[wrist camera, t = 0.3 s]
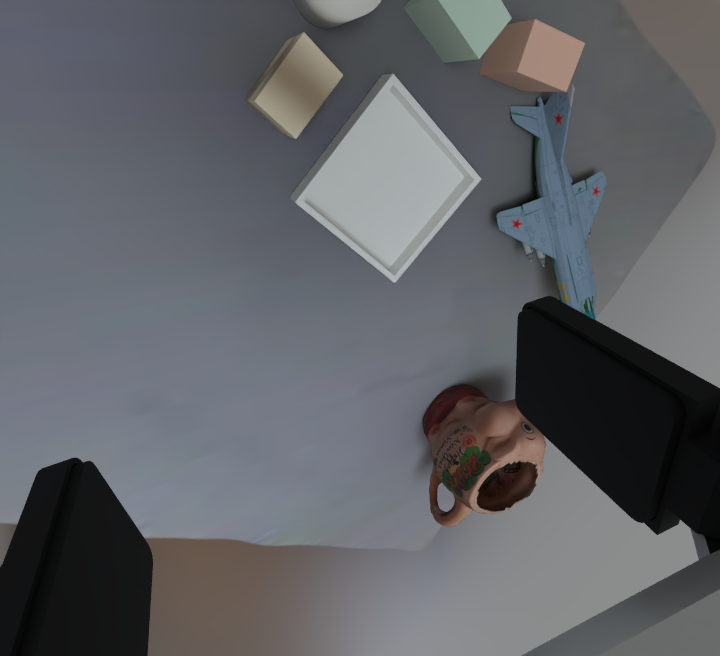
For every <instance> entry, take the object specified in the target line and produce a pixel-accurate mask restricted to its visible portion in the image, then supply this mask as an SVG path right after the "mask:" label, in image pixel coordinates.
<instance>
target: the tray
mask: <svg viewBox="0 0 720 656" xmlns="http://www.w3.org/2000/svg"><path fill="white" fill-rule="evenodd" d="M480 180H481V178H480V177H479V175H478V174H477V173H476V172H475V171H474V169H473V168H472V167H471V166H470V165H469V163H468V162H467V161H466V160H465V159H464V158H463V156H462V155H461V154H460V153H459V152H458V150H457V149H456V148H455V147H454V146H453V144H452V143H451V142H450V141H449V140H448V138H447V137H446V136H445V135H444V134H443V132H442V131H441V130H440V129H439V128H438V126H437V125H436V124H435V123H434V122H433V120H432V119H431V118H430V117H429V116H428V114H427V113H426V112H425V111H424V110H423V108H422V107H421V106H420V105H419V104H418V103H417V101H416V100H415V99H414V98H413V97H412V95H411V94H410V93H409V92H408V91H407V89H406V88H405V87H404V86H403V85H402V83H401V82H400V81H399V80H398V79H397V77H396V76H395V75H394V74H382V76H381V77H380V78H379V79H378V81H377V82H376V83H375V85H374V86H373V87H372V89H371V90H370V91H369V93H368V94H367V95H366V97H365V98H364V99H363V101H362V102H361V103H360V105H359V106H358V107H357V108H356V110H355V111H354V112H353V114H352V115H351V116H350V118H349V119H348V120H347V122H346V123H345V124H344V126H343V127H342V128H341V130H340V131H339V132H338V134H337V135H336V136H335V137H334V139H333V140H332V141H331V143H330V144H329V145H328V147H327V148H326V149H325V151H324V152H323V153H322V155H321V156H320V157H319V159H318V160H317V161H316V163H315V164H314V165H313V167H312V168H311V169H310V170H309V172H308V173H307V174H306V176H305V177H304V178H303V180H302V181H301V182H300V184H299V185H298V186H297V188H296V189H295V190H294V192H293V193H292V194H291V196H290V198H291V199H292V200H293V201H294V202H295V203H296V204H297V205H299V206H300V207H301V208H302V209H304V210H305V211H306V212H307V213H309V214H310V215H311V216H312V217H314V218H315V219H316V220H317V221H318V222H320V223H321V224H322V225H323V226H325V227H326V228H327V229H328V230H330V231H331V232H332V233H333V234H335V235H336V236H337V237H338V238H339V239H341V240H342V241H343V242H344V243H346V244H347V245H348V246H349V247H351V248H352V249H353V250H354V251H356V252H357V253H358V254H359V255H361V256H362V257H363V258H364V259H365V260H367V261H368V262H369V263H370V264H372V265H373V266H374V267H375V268H377V269H378V270H379V271H380V272H382V273H383V274H384V275H385V276H386V277H388V278H389V279H390V280H391V281H393V282H394V283H395V282H396V281H397V280H398V279H399V277H400V276H401V275H402V274H403V273H404V271H405V270H406V269H407V268H408V267H409V265H410V264H411V263H412V262H413V261H414V259H415V258H416V257H417V256H418V255H419V253H420V252H421V251H422V250H423V249H424V247H425V246H426V245H427V244H428V243H429V241H430V240H431V239H432V238H433V237H434V235H435V234H436V233H437V232H438V231H439V229H440V228H441V227H442V226H443V225H444V223H445V222H446V221H447V220H448V219H449V217H450V216H451V215H452V214H453V213H454V211H455V210H456V209H457V208H458V207H459V205H460V204H461V203H462V202H463V201H464V199H465V198H466V197H467V196H468V195H469V193H470V192H471V191H472V190H473V189H474V187H475V186H476V185H477V184H478V183H479V181H480Z"/></svg>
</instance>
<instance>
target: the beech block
mask: <svg viewBox="0 0 720 656" xmlns="http://www.w3.org/2000/svg"><path fill="white" fill-rule="evenodd" d="M342 77H343V74H342V73H341V72H340V71H339V70H338V69H337V68H336V67H335V65H334V64H333V63H332V62H331V61H330V60H329V59H328V58H327V57H326V56H325V55H324V53H323V52H322V51H321V50H320V49H319V48H318V47H317V46H316V45H315V44H314V43H313V41H312V40H311V39H310V38H309V37H308V36H307V35H306V34H305V33H304V32H303V33H301V34H299V35H297V36H294V37H292V38H290V39H288V40H287V41H286V42H285V44H284V45H283V47H282V48H281V49H280V51H279V52H278V54H277V55H276V56H275V58H274V59H273V61H272V62H271V63H270V65H269V66H268V68H267V69H266V70H265V72H264V73H263V75H262V76H261V78H260V79H259V80H258V82H257V83H256V85H255V86H254V87H253V89H252V90H251V92H250V93H249V94H248V96H247V97H246V99H245V101H246V102H247V103H248V104H250V105H251V106H252V107H253V108H254V109H255V110H256V111H257V112H258V113H260V114H261V115H262V116H263V117H264V118H265V119H266V120H267V121H269V122H270V123H271V124H272V125H273V126H274V127H275V128H276V129H277V130H279V131H280V132H281V133H282V134H285V135H287V136H289V137H292V138H294V139H297V137H298V136H299V135H300V133H301V132H302V131H303V129H304V128H305V127H306V125H307V124H308V122H309V121H310V120H311V118H312V117H313V116H314V114H315V113H316V112H317V110H318V109H319V108H320V106H321V105H322V104H323V102H324V101H325V100H326V98H327V97H328V96H329V94H330V93H331V92H332V90H333V89H334V87H335V86H336V85H337V83H338V82H339V81H340V79H341V78H342Z"/></svg>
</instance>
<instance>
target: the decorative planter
mask: <svg viewBox="0 0 720 656" xmlns="http://www.w3.org/2000/svg"><path fill="white" fill-rule="evenodd" d="M423 429H424V433H425V435H426V437H427V439H428V441H429V442H430V445H431V452H432V457H433V464H434V465H433V469H432V473H431V478H430V487H429V493H430V504H431V505H430V509H431V513H432V514H433V517H434V519H435V520H436V521H437V522H438V523H439V524H441V525H443V526H447V527H451V526H455V525H457V524H458V523H460V522H462V521H463V520H464V519H465V518H466V517H467V516H468V515H469V513H470V512H471V511H473V510H474V511H476V512H478V513H484V514H495V513H499V512H502V511H504V510H508V509H510V508H511V507H513V506H515V505H516V504H518V503H519V502H521V501H522V500H523V499H524V498H526V497H528V496H530V494H531V493H532V491H533V489H534V488H535V486H536V484H537V482H538V479H539V477H540V475H541V474H542V472H543V457H544V453H545V446H546V443H545V439H544V436H543V434H542V433H541V432H540V431H539V430H538V429H537V428H536V427H534V426H533V425H532V424H531V423H530V422H529V421H528V420H527V419H526V418H525V417H524V416H523V415H522V414H521V413H520V411H519V410H518V408H517V406H516V401H515V399H514V400H510V401H506V402H495V401H491V400H489V399H488V398H487V397H486V396H485V395H484V394H483V393H482V392H481V391H480V390H479V389H477V388H475V387H472V386H467V385H461V386H456V387H453V388H450V389H448V390H446V391H444V392H443V393H442V394H440V395H439V396H438V397H437V398H436V399H435V400H434V402H433V403H432V404H431V405H430V407H429V408H428V410H427V412H426V414H425V416H424V419H423ZM441 482H442V483H443V484H444V485H445V486H446V488H447V489H448V490H449V491H451V492H452V493H453V495H454V497H455V503H454V506H453V508H452V509H451V510H450V511H448V512H444V511H442V510H441V509H440V508H439V506H438V502H437V488H438V485H439V484H440V483H441Z"/></svg>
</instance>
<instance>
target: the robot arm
mask: <svg viewBox="0 0 720 656" xmlns="http://www.w3.org/2000/svg"><path fill="white" fill-rule="evenodd" d="M515 401H516V406H517V408H518V410H519V411H520V413H521V414H522V415H523V416H524V417H525V418H526V419H527V420H528V421H529V422H530V423H531V424H532V425H533V426H534V427H536V428H537V429H538V430H539V431H540V432H541V433H542V434H543V435H544V436H545V437H546V438H547V439H548V440H549V441H551V443H553V444H554V445H555V446H556V447H557V448H558V449H559V450H560V451H561V452H562V453H563V454H565V456H566V457H567V458H568V459H570V460H571V461H572V462H573V463H574V464H575V465H576V466H577V467H578V468H579V469H580V470H581V471H582V472H583V473H584V474H585V475H587V476H588V477H589V478H590V479H591V480H592V481H593V482H594V483H595V484H596V485H597V486H598V487H599V488H600V489H601V490H602V491H603V492H604V493H606V494H607V495H608V496H609V497H610V498H611V499H612V500H613V501H614V502H615V503H616V504H617V505H618V506H619V507H620V508H622V510H624V511H625V512H626V513H627V514H628V515H629V516H630V517H631V518H633V519H634V520H635V521H637V522H641V523H643V522H644V523H645V524H646V525H647V526H648V527H649V528H650V529H651V530H652V531H653V532H655V533H656V534H657V535H658V534H660V533H662V532H664V531H666V530H668V529H670V528H672V527H674V526H676V525H678V523H679V521H680V520H682V521H683V522H684V523H685V524H686V525H687V526H689V527H690V528H691V532H692V536H693V539H694V543H695V547H696V550H697V554H698V558H699V561H697V562H695V563H693V564H691V565H689V566H687V567H686V568H684V569H682V570H680V571H678V572H676V573H674V574H672V575H671V576H669V577H667V578H665V579H663V580H661V581H659V582H657V583H656V584H654V585H652V586H650V587H648V588H647V589H644V590H642V591H641V592H639V593H637V594H635V595H633V596H631V597H630V598H628V599H626V600H624V601H622V602H620V603H618V604H616V605H614V606H613V607H611V608H609V609H607V610H605V611H603V612H601V613H599V614H598V615H596V616H594V617H592V618H590V619H588V620H586V621H585V622H583V623H581V624H579V625H578V626H575V627H573V628H572V629H570V630H568V631H566V632H565V633H562V634H561V635H559V636H557V637H555V638H553V639H551V640H550V641H548V642H546V643H544V644H542V645H540V646H538V647H537V648H535V649H533V650H531V651H529V652H527V653H526V654H524V655H522V656H720V388H718V387H716V386H715V385H713V384H711V383H709V382H707V381H705V380H704V379H702V378H700V377H698V376H696V375H695V374H693V373H691V372H689V371H687V370H685V369H684V368H682V367H680V366H678V365H676V364H675V363H673V362H671V361H669V360H667V359H665V358H664V357H662V356H660V355H658V354H656V353H654V352H653V351H651V350H649V349H647V348H645V347H643V346H641V345H640V344H638V343H636V342H634V341H633V340H631V339H629V338H627V337H625V336H623V335H622V334H620V333H618V332H616V331H614V330H612V329H611V328H609V327H607V326H605V325H603V324H602V323H600V322H598V321H596V320H594V319H592V318H591V317H589V316H587V315H585V314H583V313H581V312H580V311H578V310H576V309H574V308H572V307H570V306H569V305H567V304H565V303H563V302H561V301H560V300H558V299H556V298H554V297H551V296H546V297H543V298H540V299H537V300H534V301H531V302H528V303H526V304H525V305H524V307H523V309H522V311H521V312H520V313H519V315H518V327H517V360H516V392H515ZM152 570H153V559H152V553H151V550H150V547H149V545H148V543H147V542H146V540H145V539H144V537H143V536H142V534H141V533H140V531H139V530H138V528H137V527H136V525H135V524H134V522H133V521H132V519H131V518H130V516H129V515H128V513H127V512H126V510H125V509H124V507H123V506H122V505H121V503H120V502H119V500H118V499H117V497H116V496H115V494H114V493H113V491H112V490H111V488H110V487H109V485H108V484H107V482H106V481H105V479H104V478H103V476H102V475H101V473H100V472H99V470H98V469H97V467H96V466H95V465H94V463H93V462H91V461H87V462H84V463H83V462H82V461H81V460H80V459H78V458H71V459H68V460H66V461H63V462H60V463H57V464H54V465H51V466H48V467H45V468H42V469H41V470H39V471H38V473H37V475H36V477H35V480H34V482H33V485H32V488H31V490H30V493H29V496H28V498H27V501H26V504H25V506H24V509H23V511H22V514H21V517H20V519H19V522H18V525H17V527H16V530H15V532H14V535H13V538H12V540H11V543H10V546H9V548H8V551H7V554H6V556H5V559H4V562H3V564H2V565H1V567H0V656H147V654H148V637H149V636H148V635H149V621H150V619H149V618H150V604H151V603H150V602H151V587H152Z"/></svg>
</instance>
